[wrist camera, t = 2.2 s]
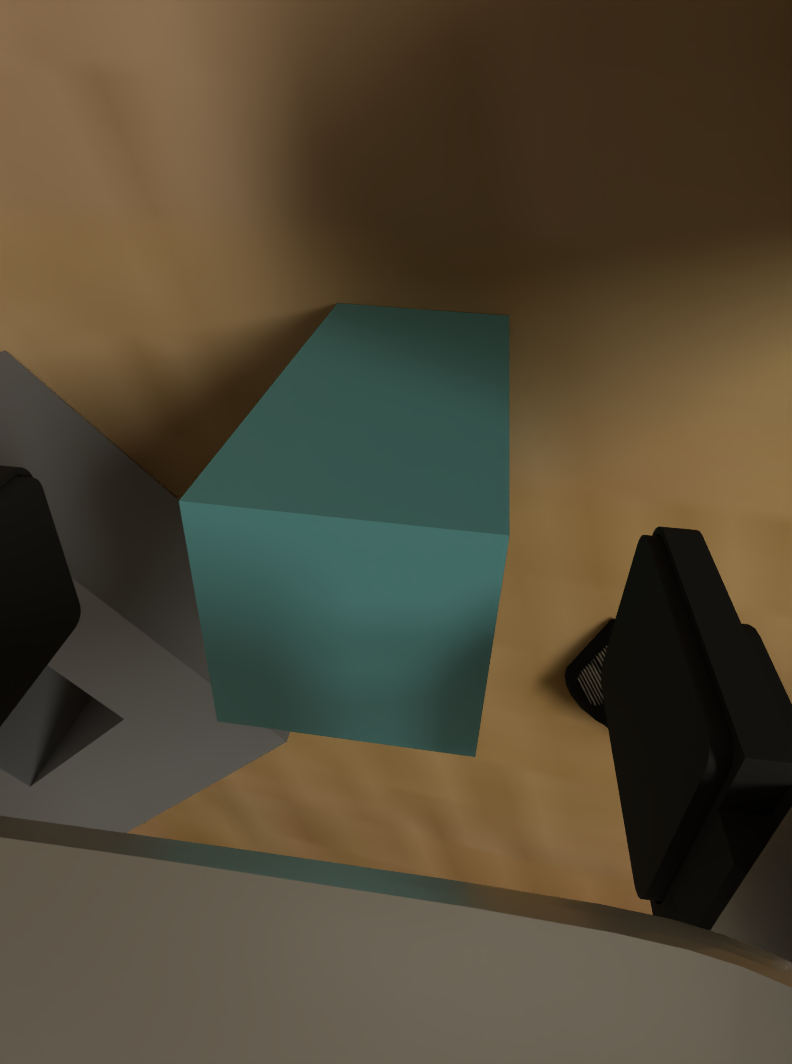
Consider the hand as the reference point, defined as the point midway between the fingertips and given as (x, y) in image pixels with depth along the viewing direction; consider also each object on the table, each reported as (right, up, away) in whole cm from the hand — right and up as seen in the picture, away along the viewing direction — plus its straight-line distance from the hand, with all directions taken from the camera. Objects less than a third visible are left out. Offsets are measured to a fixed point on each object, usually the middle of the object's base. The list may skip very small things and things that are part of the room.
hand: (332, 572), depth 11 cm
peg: (+2, +4, +8) cm, 9 cm away
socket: (-11, -2, +14) cm, 17 cm away
